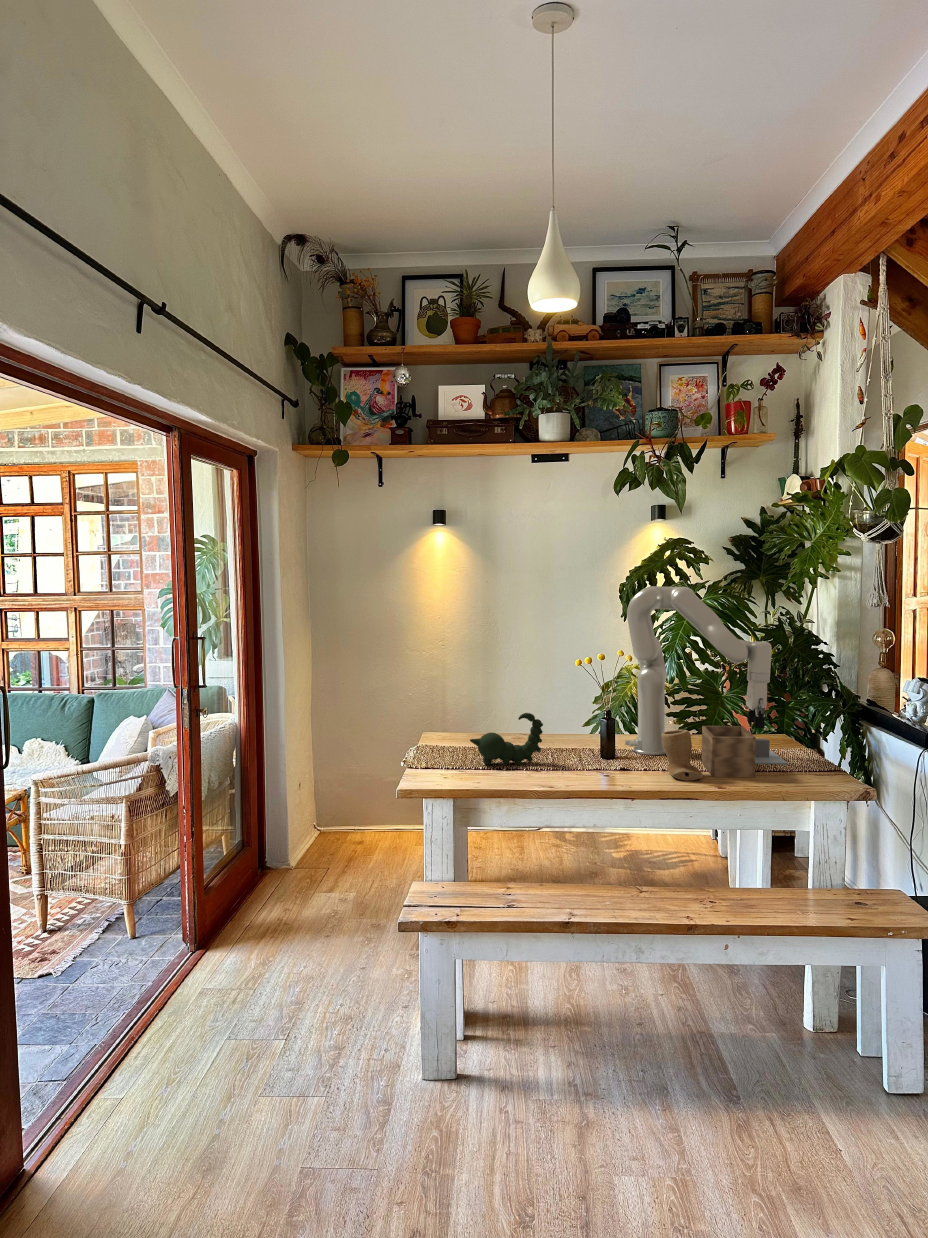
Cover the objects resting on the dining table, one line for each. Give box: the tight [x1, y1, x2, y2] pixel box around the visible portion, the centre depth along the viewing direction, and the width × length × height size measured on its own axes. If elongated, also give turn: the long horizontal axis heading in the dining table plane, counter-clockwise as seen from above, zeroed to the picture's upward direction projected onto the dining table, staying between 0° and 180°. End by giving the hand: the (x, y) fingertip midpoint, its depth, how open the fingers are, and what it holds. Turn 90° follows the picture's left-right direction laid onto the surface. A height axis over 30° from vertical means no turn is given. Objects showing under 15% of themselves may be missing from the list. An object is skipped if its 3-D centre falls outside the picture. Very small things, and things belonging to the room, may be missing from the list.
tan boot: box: [661, 729, 704, 782], centre depth 277 cm, size 15×12×15 cm
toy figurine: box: [469, 712, 544, 766], centre depth 295 cm, size 9×19×25 cm
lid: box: [755, 738, 788, 766], centre depth 299 cm, size 14×18×7 cm
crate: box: [701, 725, 757, 778], centre depth 283 cm, size 14×18×13 cm
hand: (755, 725), depth 299 cm, fingers open, 9 cm apart
